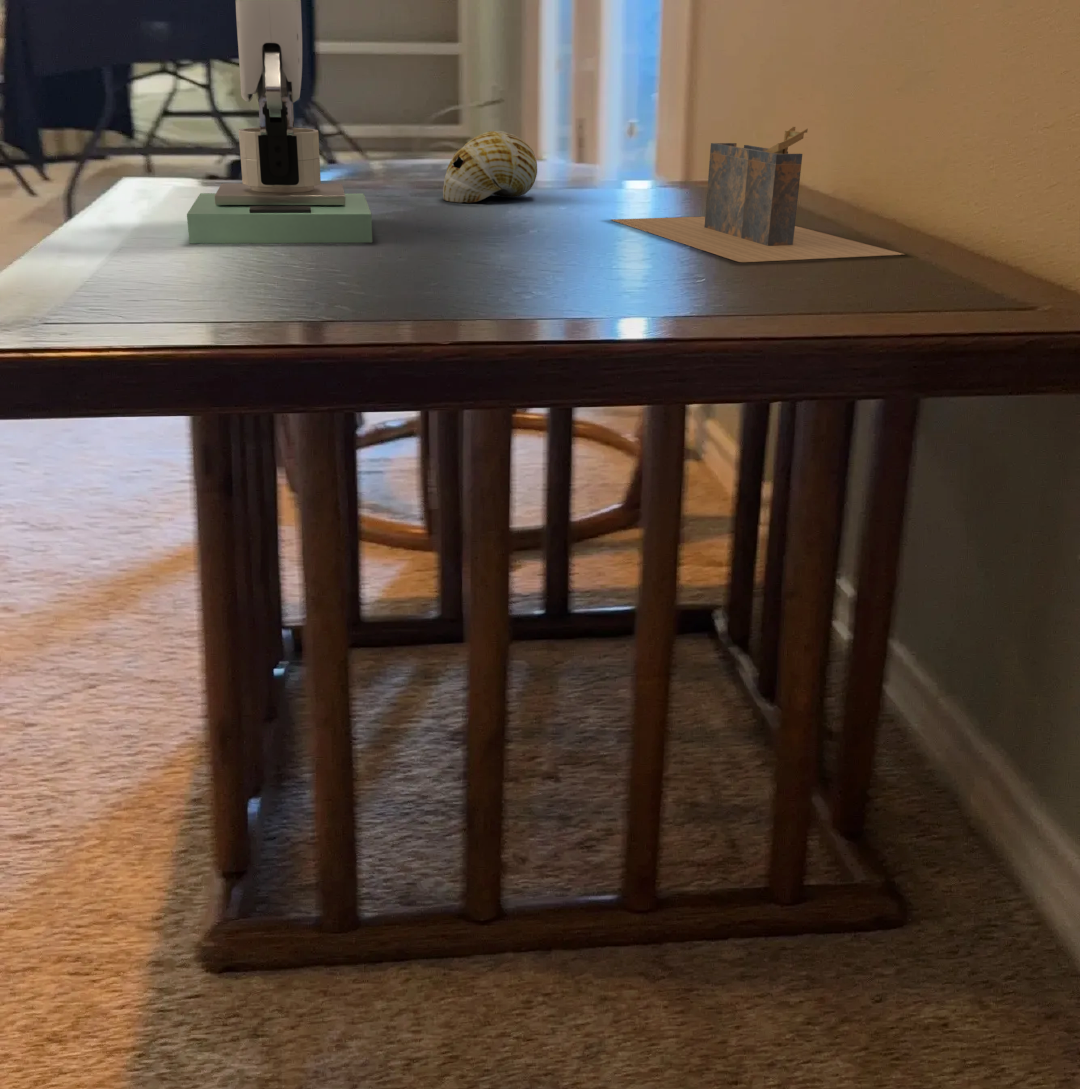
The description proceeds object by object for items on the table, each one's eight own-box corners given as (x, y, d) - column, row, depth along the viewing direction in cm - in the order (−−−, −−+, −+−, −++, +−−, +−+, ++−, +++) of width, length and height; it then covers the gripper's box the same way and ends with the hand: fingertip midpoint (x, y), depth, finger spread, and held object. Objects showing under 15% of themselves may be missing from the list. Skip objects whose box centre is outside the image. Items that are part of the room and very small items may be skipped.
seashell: (435, 197, 123) (437, 104, 124) (450, 228, 133) (451, 142, 134) (532, 194, 122) (533, 101, 123) (539, 227, 132) (540, 140, 133)
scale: (189, 243, 97) (186, 210, 96) (202, 219, 110) (200, 189, 108) (372, 242, 100) (371, 209, 98) (364, 219, 112) (363, 190, 111)
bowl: (241, 193, 101) (236, 132, 99) (245, 184, 107) (240, 126, 105) (321, 193, 102) (318, 133, 100) (320, 184, 109) (317, 127, 107)
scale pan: (215, 205, 100) (214, 195, 100) (221, 192, 108) (221, 183, 108) (345, 205, 102) (345, 195, 102) (342, 192, 110) (342, 183, 110)
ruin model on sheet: (906, 254, 101) (923, 134, 97) (740, 262, 95) (751, 135, 91) (753, 215, 122) (762, 115, 118) (609, 219, 116) (614, 114, 112)
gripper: (227, -40, 105) (242, 169, 112) (213, -53, 89) (232, 191, 96) (312, -37, 106) (322, 169, 113) (314, -49, 90) (325, 191, 97)
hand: (281, 177), depth 105 cm, fingers closed on bowl, 6 cm apart
